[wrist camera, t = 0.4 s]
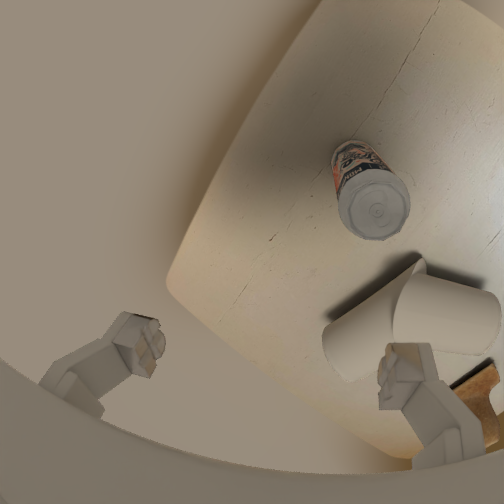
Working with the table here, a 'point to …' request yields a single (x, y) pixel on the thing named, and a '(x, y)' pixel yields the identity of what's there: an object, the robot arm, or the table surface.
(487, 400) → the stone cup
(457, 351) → the l-shaped cylinder
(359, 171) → the beer can
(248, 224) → the table surface
